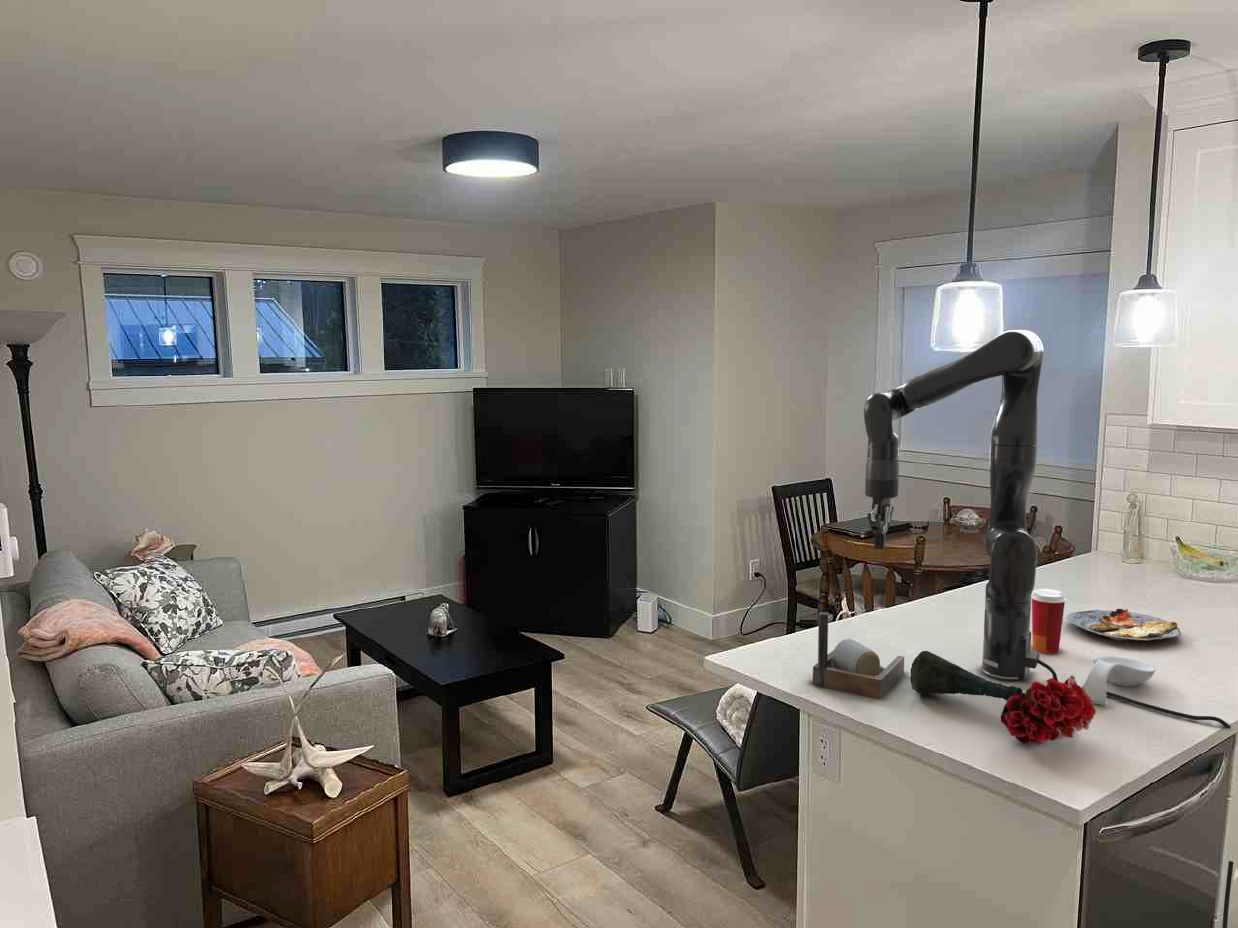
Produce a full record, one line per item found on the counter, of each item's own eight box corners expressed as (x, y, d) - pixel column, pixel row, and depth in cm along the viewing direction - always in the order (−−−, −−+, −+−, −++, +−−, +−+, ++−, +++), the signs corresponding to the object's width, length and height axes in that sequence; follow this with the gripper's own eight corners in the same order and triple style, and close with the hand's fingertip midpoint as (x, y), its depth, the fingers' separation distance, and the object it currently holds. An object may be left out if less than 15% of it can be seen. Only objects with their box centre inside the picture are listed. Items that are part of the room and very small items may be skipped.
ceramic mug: (856, 686, 193) (858, 651, 192) (830, 673, 200) (832, 640, 199) (893, 677, 198) (894, 644, 197) (866, 666, 205) (867, 633, 204)
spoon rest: (1102, 666, 203) (1104, 636, 202) (1161, 680, 194) (1163, 648, 193) (1063, 696, 186) (1065, 663, 185) (1126, 713, 178) (1128, 678, 177)
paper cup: (1063, 646, 216) (1066, 590, 214) (1063, 657, 209) (1067, 598, 207) (1027, 642, 219) (1030, 586, 217) (1026, 652, 212) (1029, 595, 210)
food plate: (1122, 613, 241) (1123, 600, 240) (1202, 640, 219) (1203, 626, 218) (1047, 623, 233) (1047, 610, 233) (1122, 652, 211) (1123, 638, 211)
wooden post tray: (903, 673, 200) (906, 604, 198) (879, 699, 186) (881, 624, 184) (839, 661, 208) (841, 594, 206) (812, 684, 195) (813, 613, 192)
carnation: (918, 729, 190) (1093, 780, 163) (879, 691, 179) (1058, 739, 153) (943, 662, 195) (1116, 701, 168) (906, 621, 185) (1084, 656, 158)
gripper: (889, 481, 205) (887, 555, 208) (906, 474, 216) (903, 544, 219) (857, 479, 209) (855, 551, 212) (875, 471, 220) (872, 540, 223)
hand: (879, 547), depth 215 cm, fingers closed
